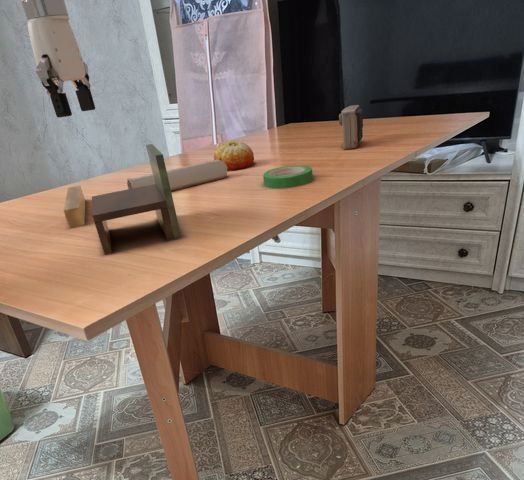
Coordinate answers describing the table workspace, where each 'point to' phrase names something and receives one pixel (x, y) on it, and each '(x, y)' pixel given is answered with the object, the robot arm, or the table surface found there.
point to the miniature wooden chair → (138, 203)
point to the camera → (351, 126)
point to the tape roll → (288, 176)
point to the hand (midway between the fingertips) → (77, 113)
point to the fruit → (235, 155)
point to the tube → (185, 175)
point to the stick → (75, 207)
